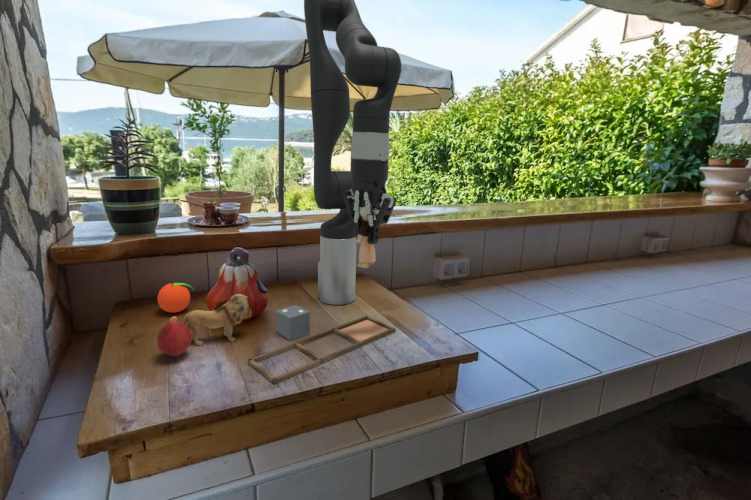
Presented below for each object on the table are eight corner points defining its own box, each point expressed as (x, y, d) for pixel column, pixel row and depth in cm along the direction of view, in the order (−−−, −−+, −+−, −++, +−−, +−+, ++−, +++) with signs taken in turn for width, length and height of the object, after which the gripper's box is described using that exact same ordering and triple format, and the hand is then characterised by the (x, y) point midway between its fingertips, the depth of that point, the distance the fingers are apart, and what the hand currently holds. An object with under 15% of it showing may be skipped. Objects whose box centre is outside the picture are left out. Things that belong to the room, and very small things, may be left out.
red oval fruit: (170, 367, 73) (166, 327, 71) (152, 358, 76) (148, 318, 74) (199, 354, 78) (196, 315, 76) (181, 346, 81) (177, 308, 79)
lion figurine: (246, 327, 90) (245, 289, 88) (252, 337, 85) (251, 297, 83) (172, 341, 83) (168, 299, 80) (175, 353, 78) (170, 309, 76)
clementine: (194, 303, 102) (192, 276, 100) (197, 314, 96) (195, 285, 94) (158, 308, 98) (155, 280, 96) (159, 319, 92) (156, 289, 90)
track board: (248, 363, 76) (247, 359, 75) (366, 318, 97) (367, 315, 97) (274, 384, 70) (274, 380, 69) (395, 331, 91) (395, 328, 91)
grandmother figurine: (371, 270, 82) (373, 207, 79) (352, 268, 83) (354, 206, 80) (379, 260, 90) (381, 202, 86) (362, 258, 90) (364, 201, 87)
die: (276, 332, 88) (276, 310, 87) (296, 325, 92) (295, 304, 90) (289, 340, 85) (289, 317, 84) (309, 333, 88) (309, 311, 87)
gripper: (332, 154, 83) (331, 238, 87) (382, 159, 73) (378, 252, 78) (359, 155, 88) (357, 233, 92) (409, 158, 78) (404, 246, 83)
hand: (366, 241), depth 85 cm, fingers closed on grandmother figurine, 3 cm apart
